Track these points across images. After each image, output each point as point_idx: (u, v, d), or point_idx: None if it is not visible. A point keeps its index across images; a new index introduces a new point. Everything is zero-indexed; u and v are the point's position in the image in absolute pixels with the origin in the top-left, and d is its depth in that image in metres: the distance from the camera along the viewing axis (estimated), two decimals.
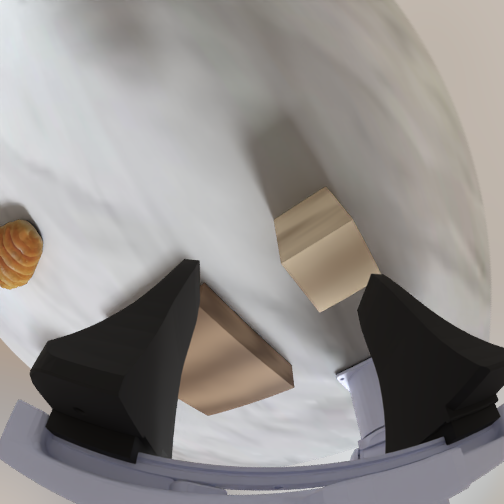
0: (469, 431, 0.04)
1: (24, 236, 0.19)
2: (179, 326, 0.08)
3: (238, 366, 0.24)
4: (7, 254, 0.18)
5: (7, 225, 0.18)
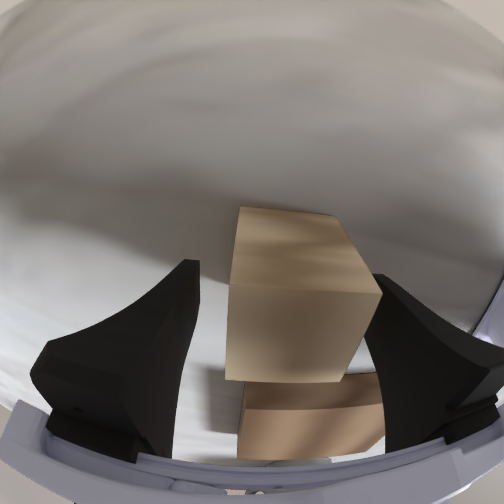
0: (469, 431, 0.04)
1: None
2: (179, 326, 0.08)
3: (343, 420, 0.17)
4: None
5: None
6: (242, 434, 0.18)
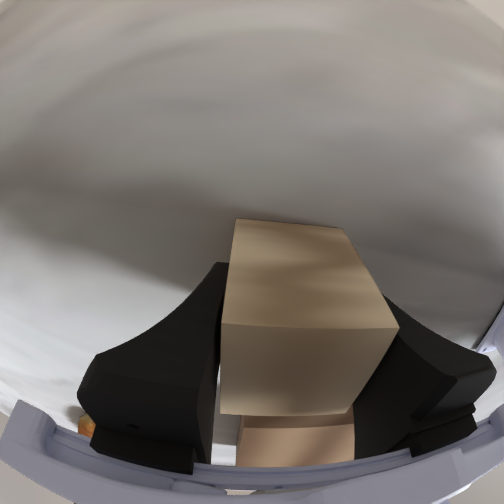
0: (438, 444, 0.04)
1: (91, 428, 0.20)
2: (219, 330, 0.08)
3: (346, 435, 0.16)
4: None
5: (78, 425, 0.21)
6: (241, 449, 0.17)
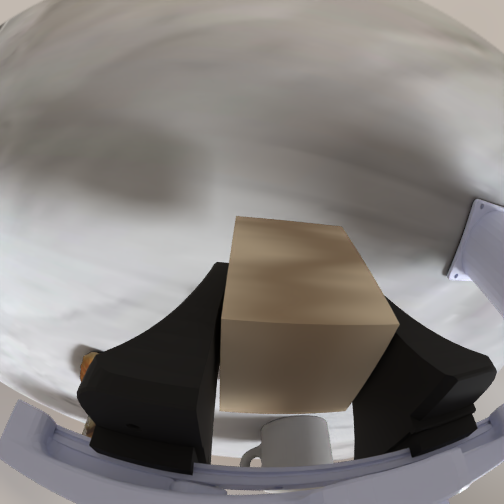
0: (438, 444, 0.04)
1: None
2: (219, 330, 0.08)
3: None
4: None
5: (81, 365, 0.26)
6: None
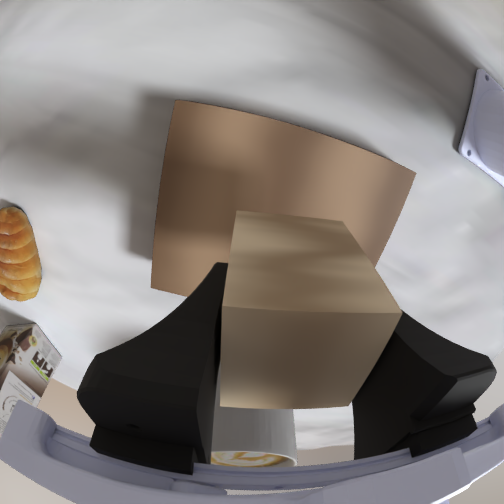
0: (438, 444, 0.04)
1: (4, 217, 0.16)
2: (219, 330, 0.08)
3: (308, 172, 0.14)
4: None
5: None
6: (162, 183, 0.14)
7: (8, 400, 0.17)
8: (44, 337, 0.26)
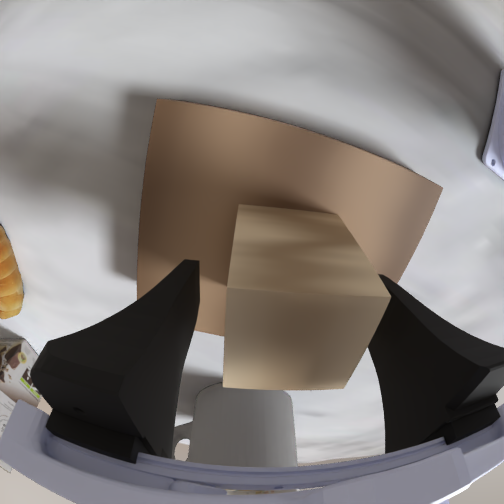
0: (469, 431, 0.04)
1: None
2: (179, 326, 0.08)
3: (320, 187, 0.12)
4: None
5: None
6: (143, 201, 0.12)
7: None
8: (34, 353, 0.23)
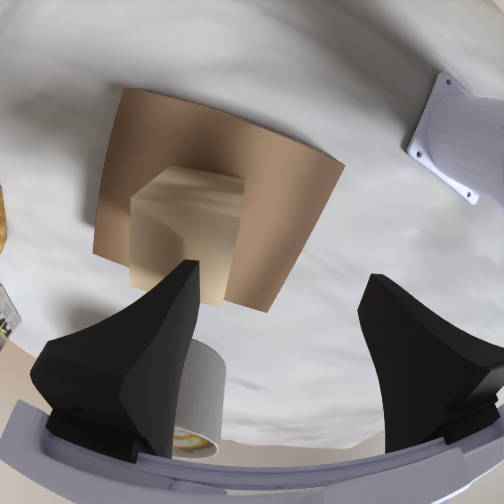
0: (469, 431, 0.04)
1: None
2: (179, 326, 0.08)
3: (231, 156, 0.15)
4: None
5: None
6: (107, 159, 0.15)
7: None
8: (7, 299, 0.25)
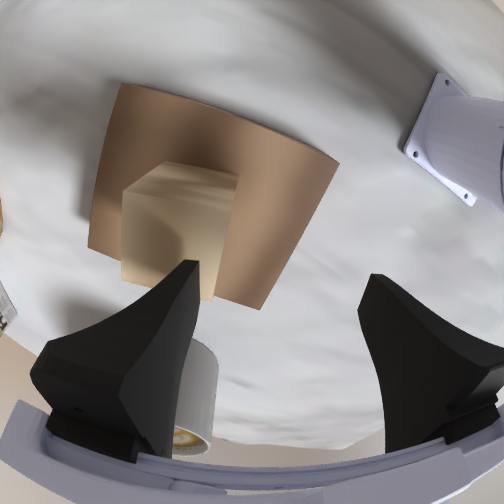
0: (469, 431, 0.04)
1: None
2: (179, 326, 0.08)
3: (225, 153, 0.15)
4: None
5: None
6: (103, 154, 0.15)
7: None
8: (3, 292, 0.25)
